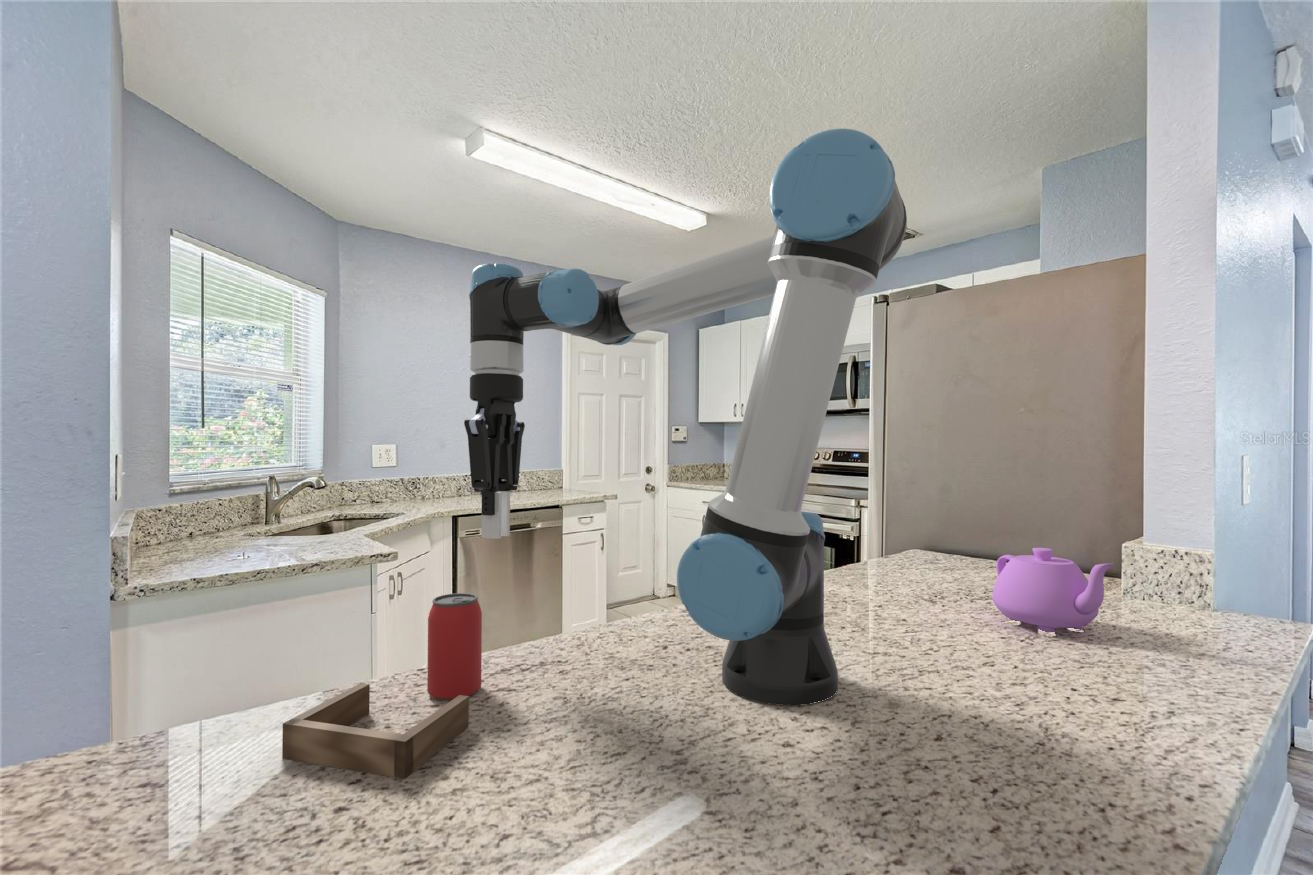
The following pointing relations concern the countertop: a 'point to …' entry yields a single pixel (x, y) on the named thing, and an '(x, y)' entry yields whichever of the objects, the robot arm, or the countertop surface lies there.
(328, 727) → the walnut bay
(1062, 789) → the countertop surface
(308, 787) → the countertop surface
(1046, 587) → the teapot
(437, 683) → the beer can
